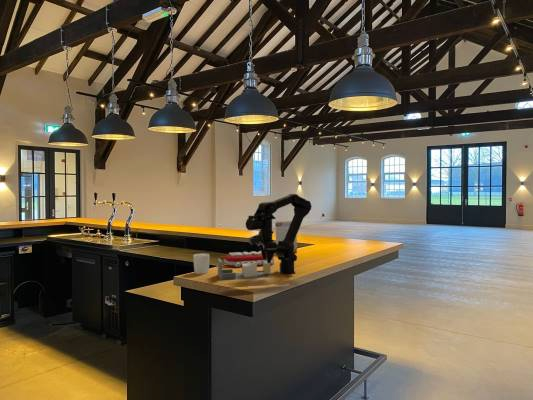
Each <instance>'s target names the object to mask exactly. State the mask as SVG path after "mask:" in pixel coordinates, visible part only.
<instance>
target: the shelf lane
mask: <svg viewBox="0 0 533 400" xmlns="http://www.w3.org/2000/svg"><path fill="white" fill-rule="evenodd" d="M233 270H234V269H233V268H229V269H223V261H222V260H221V258H217V277H218V278H219V280H220V281H233V280H235V281H236V280H248V279H265V278H273V276H272V275H271V274H264V273H263V272H257V276H252V277H244V276H243V275H242V272H233Z"/></svg>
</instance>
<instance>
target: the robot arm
mask: <svg viewBox="0 0 533 400" xmlns="http://www.w3.org/2000/svg"><path fill="white" fill-rule="evenodd" d="M290 204H291V206H292V207H293V214H294V215H293V217H292V220H291V221H292V222H291V224H290V227H289V229H288V231H287V234H286V236H285V239H284V240H283V241H279V242H278V245H277V244H276V241H274V239H273V234H274V230H273V220H276V216H275V215H273V214H274V213H276V212H277V210H279V209H281V208H284V207H286V206H288V205H290ZM311 209H312V203H311V201H310V200H307V199H306V198H303V197H301V196H300V195H298V194H297V193H289V194H288V195H285V196H283V197H281V198H278V199H275V200H273V201H266V202H260V203H258V206H257V209H256V211H255V213H254V214H253V215H248V216H247V217H248V218H247V219H246V222H245V228H246V230H247V231H256V230H257V231H258V234H255V235H252V236H250V237H248V238H247V239H248V241H249V244H250V245H251V246H254V245H256V246H257V247H258V248H259V249H260V251H261V253H262V257H263V260H266V257H267V262H268V263H270V262H271V260H272V257H273V258H274V254H276V256H277V259H278V260H279V261H280V262H279V272H280V273H281V274H282V275H284V274H285V275H286V274H287V275H289V274H296V271H295V262H297V259H298V256H297V254H296V253H294V252H293V251H294V244H293V243H294V240H295V238H296V235H298V234H299V233H298V232H299V230H300V228H301V226H302V225H301V224H302V223H303V220H304V218H306V216H308V214H310V211H311Z"/></svg>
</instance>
